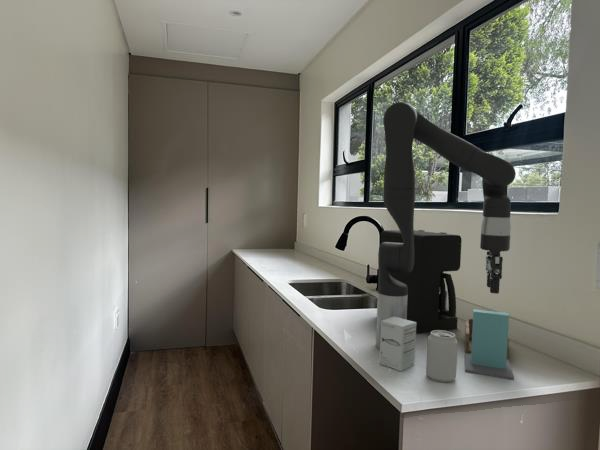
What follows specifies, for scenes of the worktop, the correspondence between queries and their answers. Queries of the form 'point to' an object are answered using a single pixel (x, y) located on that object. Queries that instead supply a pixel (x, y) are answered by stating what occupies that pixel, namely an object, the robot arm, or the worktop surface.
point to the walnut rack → (469, 336)
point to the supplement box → (397, 343)
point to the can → (441, 356)
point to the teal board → (489, 338)
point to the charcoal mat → (488, 369)
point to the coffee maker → (430, 279)
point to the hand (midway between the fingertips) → (492, 290)
